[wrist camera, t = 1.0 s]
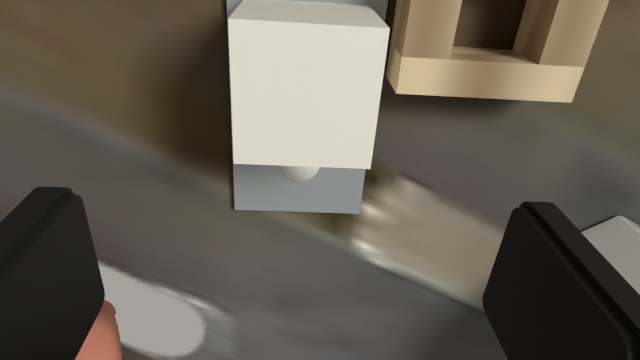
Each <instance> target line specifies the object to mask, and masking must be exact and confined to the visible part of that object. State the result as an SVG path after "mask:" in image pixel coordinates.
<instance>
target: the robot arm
mask: <svg viewBox="0 0 640 360" xmlns="http://www.w3.org/2000/svg"><path fill="white" fill-rule="evenodd" d="M104 296H105V294H104V287H103V283H102V279H101V275H100V270H99V266H98V262H97V258H96V254H95V250H94V246H93V242H92V238H91V233H90V229H89V225H88V221H87V217H86V213H85V209H84V205H83V201H82V198H81V197H80V196H79V195H74V193H73V192H72V190H71V189H69V188H63V187H37V188H35V189H34V190H33V191H32V192H31V193H30V194H29V195H28V196H27V197H26V198H25V199H24V200H23V201H22V202H21V203H20V204H19V205H18V206H17V207H16V208H15V209H14V210H13V211H12V212H11V213H10V214H9V215H8V216H7V217H5V218H4V219H3V220H2V221H1V222H0V360H75V359H76V357H77V355H78V353H79V351H80V349H81V347H82V345H83V343H84V341H85V339H86V337H87V335H88V333H89V332H90V330H91V328H92V326H93V324H94V322H95V320H96V318H97V316H98V314H99V312H100V310H101V308H102V306H103V302H104ZM483 307H484V311H485V313H486V315H487V317H488V319H489V321H490V323H491V325H492V327H493V329H494V331H495V333H496V335H497V337H498V339H499V341H500V343H501V346H502V348H503V350H504V352H505V354H506V356H507V358H508V360H640V295H639V293H638V292H637V291H636V290H635V289H634V288H633V287H632V286H631V285H630V284H629V283H628V282H627V281H626V280H625V279H624V278H623V276H622V275H621V274H620V273H619V272H618V271H617V270H616V269H615V268H614V267H613V266H612V265H611V264H610V263H609V262H608V261H607V259H606V258H605V257H604V256H603V255H602V254H601V253H600V252H599V251H598V250H597V249H596V248H595V247H594V246H593V245H592V244H591V243H590V241H589V240H588V239H587V238H586V237H585V236H584V235H583V234H582V233H581V232H580V231H579V230H578V229H577V228H576V227H575V226H574V224H573V223H572V222H571V221H570V220H569V219H568V218H567V217H566V216H565V215H564V214H563V213H562V212H561V211H560V210H559V209H558V207H557V206H556V205H554V204H553V203H550V202H523V203H522V204H521V205H520V207H519V208H515V209H514V210H513V211H512V213H511V216H510V219H509V222H508V225H507V227H506V230H505V233H504V236H503V239H502V242H501V245H500V248H499V251H498V254H497V257H496V260H495V263H494V265H493V268H492V271H491V274H490V277H489V280H488V283H487V286H486V289H485V292H484V295H483Z"/></svg>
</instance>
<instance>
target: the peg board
mask: <svg viewBox="0 0 640 360" xmlns="http://www.w3.org/2000/svg"><path fill="white" fill-rule="evenodd" d="M608 2H609V0H526V4H525V7H524V11H523V14H522V18H521V21H520V25H519V29H518V32H517V36H516V39H515V43H514V46H513V50H508V49H491V48H474V47H457V46H453V41H454V37H455V32H456V27H457V23H458V18H459V13H460V8H461V4H462V0H397V1H396V8H395V15H394V22H393V29H392V36H391V43H390V50H389V57H388V64H387V71H386V77H387V79H388V81H389V82H390V84H391V86H392V87H393V89H394V91H395V93H396V94H412V95H431V96H451V97H471V98H491V99H510V100H530V101H550V102H569V103H572V100H573V97H574V95H575V92H576V89H577V86H578V84H579V81H580V78H581V76H582V73H583V70H584V67H585V65H586V62H587V59H588V57H589V54H590V51H591V48H592V46H593V43H594V40H595V38H596V35H597V32H598V29H599V27H600V24H601V21H602V19H603V16H604V13H605V10H606V8H607V5H608Z"/></svg>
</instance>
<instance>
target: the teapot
mask: <svg viewBox="0 0 640 360" xmlns="http://www.w3.org/2000/svg"><path fill="white" fill-rule="evenodd" d="M115 313H116V312H115V308H114V307H113V305H112V304H111V303H109V302H108V301H106V300H104V302H103V306H102V308H101V310H100V312H99V314H98V316H97V318H96V320H95V322H94V324H93V326H92V328H91V330H90V332H89V333H88V335H87V337H86V339H85V341H84V343H83V345H82V347H81V349H80V351H79V353H78V355H77V357H76V359H75V360H122V350H121V342H120V337H119V331H118V326H117V323H116V319H115V317H114V316H115Z"/></svg>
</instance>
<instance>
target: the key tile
mask: <svg viewBox="0 0 640 360" xmlns="http://www.w3.org/2000/svg"><path fill="white" fill-rule="evenodd" d="M242 1H243V0H227V23H228V18H229V17H230V15H231V14H232V13H233V12H234V11H235V9H236V8H237V7H238V6H239V4H240V3H241V2H242ZM288 1H304V2H319V3H335V4H350V5H366V6H370V7H371V8H372V9H373V10H374V11H375V12H376V14H377V15H378V16H379V17H380V18H381V19H382V20H383V21H384V22H385V18H386V11H387V3H388V0H288ZM228 49H229V32H228ZM229 75H230V58H229ZM230 101H231V85H230ZM231 126H232V111H231ZM232 152H233V137H232ZM364 176H365V169H355V168H330V167H304V166H278V165H252V164H234V163H233V178H234V204H235V210H257V211H289V212H320V213H351V214H360V206H361V199H362V191H363V184H364Z"/></svg>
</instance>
